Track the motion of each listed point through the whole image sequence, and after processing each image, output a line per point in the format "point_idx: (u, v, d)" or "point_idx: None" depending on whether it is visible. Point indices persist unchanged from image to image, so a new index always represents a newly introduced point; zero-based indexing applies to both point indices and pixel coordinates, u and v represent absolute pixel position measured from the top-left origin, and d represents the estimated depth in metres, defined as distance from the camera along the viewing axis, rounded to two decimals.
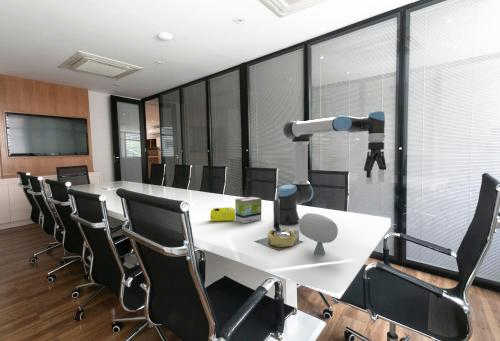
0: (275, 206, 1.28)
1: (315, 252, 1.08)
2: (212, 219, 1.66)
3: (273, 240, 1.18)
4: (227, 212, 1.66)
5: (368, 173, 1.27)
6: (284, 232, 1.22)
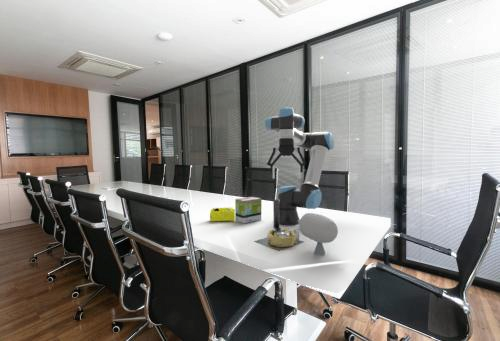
0: (275, 206, 1.28)
1: (315, 252, 1.08)
2: (212, 219, 1.66)
3: (273, 240, 1.18)
4: (227, 212, 1.66)
5: None
6: (284, 232, 1.22)
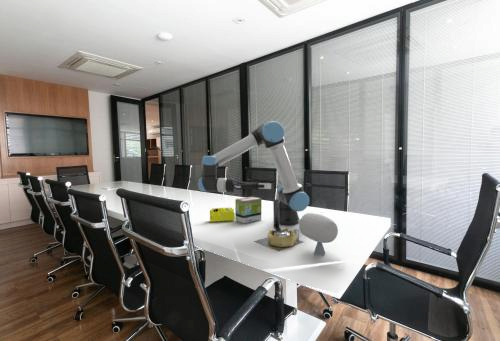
0: (275, 206, 1.28)
1: (315, 252, 1.08)
2: (212, 220, 1.65)
3: (273, 240, 1.18)
4: (227, 212, 1.66)
5: None
6: (284, 232, 1.22)
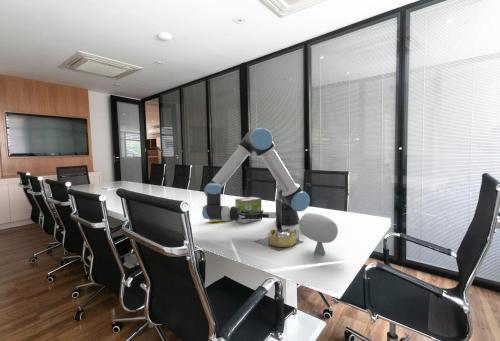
0: (277, 206, 1.28)
1: (315, 252, 1.08)
2: (212, 220, 1.64)
3: (271, 239, 1.19)
4: None
5: None
6: (284, 232, 1.22)
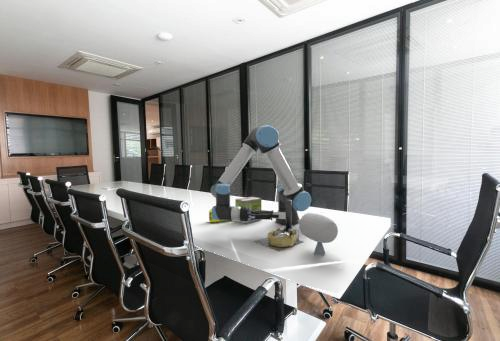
0: (286, 206, 1.28)
1: (315, 252, 1.08)
2: (212, 220, 1.63)
3: (268, 237, 1.22)
4: None
5: None
6: (284, 232, 1.22)
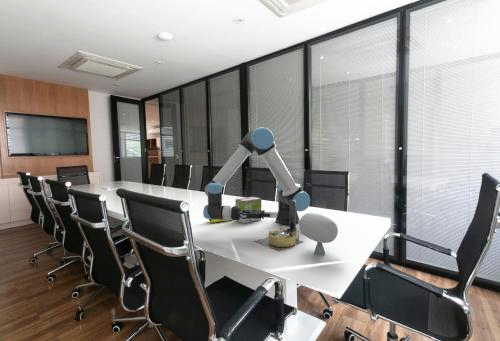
0: None
1: (315, 252, 1.08)
2: (213, 220, 1.63)
3: None
4: None
5: None
6: (284, 232, 1.22)
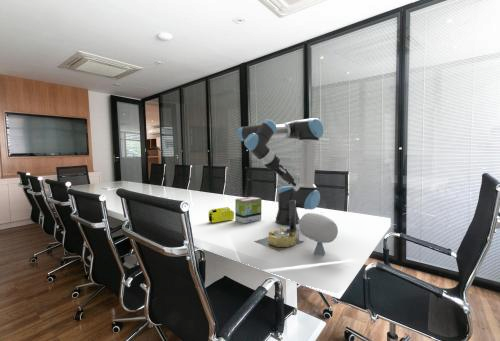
0: None
1: (315, 252, 1.08)
2: (213, 221, 1.62)
3: None
4: (227, 212, 1.67)
5: None
6: (284, 232, 1.22)
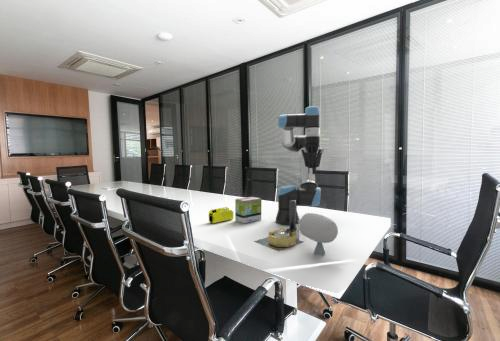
0: None
1: (315, 252, 1.08)
2: (214, 221, 1.61)
3: None
4: (227, 212, 1.67)
5: None
6: (284, 232, 1.22)
